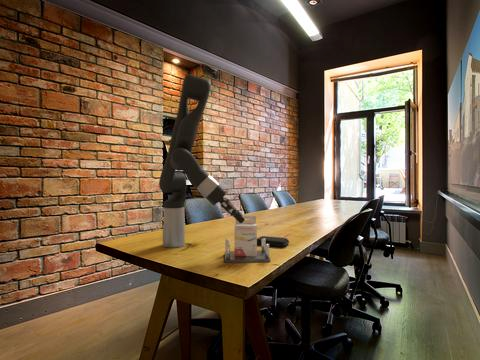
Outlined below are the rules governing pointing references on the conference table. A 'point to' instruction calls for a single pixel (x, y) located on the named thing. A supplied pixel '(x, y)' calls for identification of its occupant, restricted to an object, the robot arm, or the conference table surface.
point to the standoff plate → (261, 256)
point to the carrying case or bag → (273, 241)
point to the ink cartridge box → (246, 237)
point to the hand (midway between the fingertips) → (242, 219)
